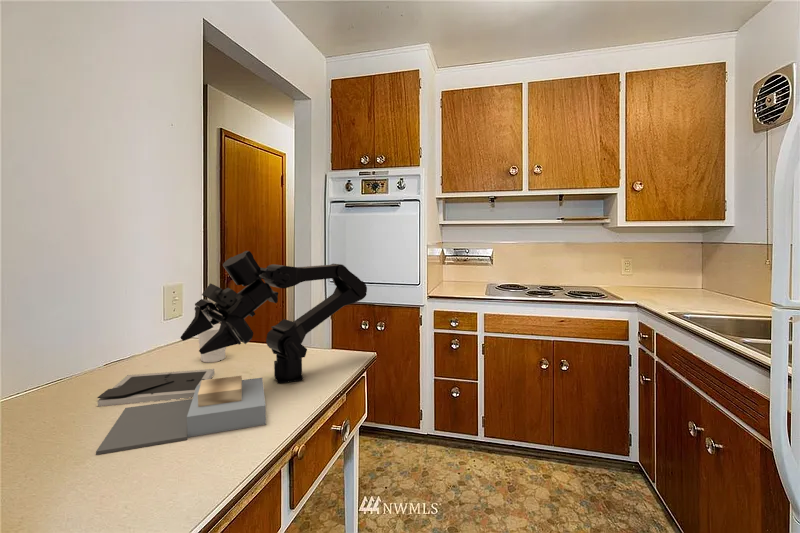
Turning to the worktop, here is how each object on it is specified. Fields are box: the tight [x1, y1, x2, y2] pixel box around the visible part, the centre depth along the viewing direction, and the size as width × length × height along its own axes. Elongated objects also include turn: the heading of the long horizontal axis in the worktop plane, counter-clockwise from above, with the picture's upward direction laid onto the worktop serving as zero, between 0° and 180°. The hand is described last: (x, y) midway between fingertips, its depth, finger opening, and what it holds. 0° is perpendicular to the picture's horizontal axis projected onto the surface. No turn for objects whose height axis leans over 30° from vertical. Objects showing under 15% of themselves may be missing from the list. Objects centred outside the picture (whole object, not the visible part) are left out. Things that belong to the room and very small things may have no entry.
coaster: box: [198, 375, 243, 407], centre depth 83 cm, size 8×8×2 cm
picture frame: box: [96, 368, 215, 407], centre depth 96 cm, size 16×3×21 cm
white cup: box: [197, 323, 227, 363], centre depth 118 cm, size 8×8×10 cm
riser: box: [187, 377, 267, 438], centre depth 84 cm, size 14×16×4 cm
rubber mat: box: [95, 398, 193, 456], centre depth 79 cm, size 14×18×1 cm
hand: (190, 345), depth 85 cm, fingers open, 9 cm apart
